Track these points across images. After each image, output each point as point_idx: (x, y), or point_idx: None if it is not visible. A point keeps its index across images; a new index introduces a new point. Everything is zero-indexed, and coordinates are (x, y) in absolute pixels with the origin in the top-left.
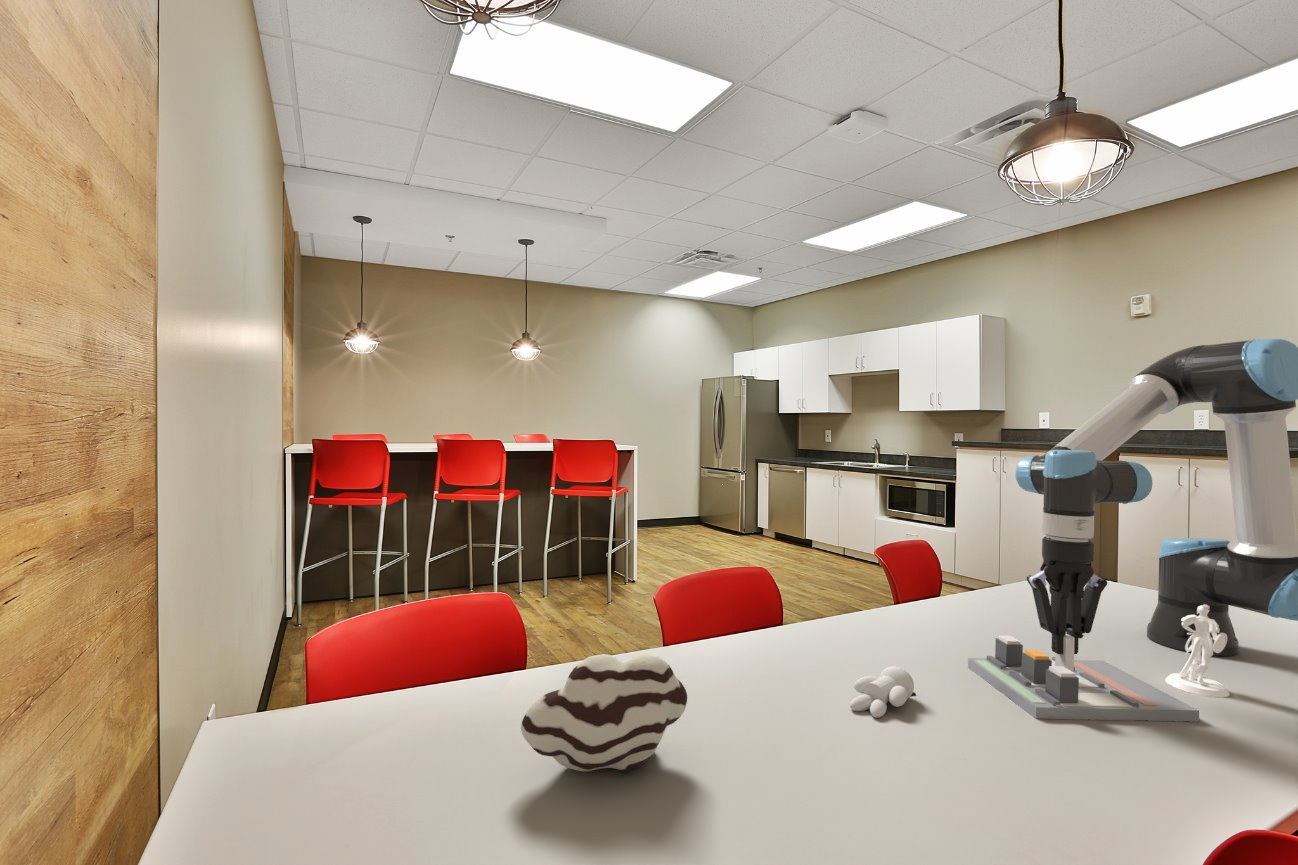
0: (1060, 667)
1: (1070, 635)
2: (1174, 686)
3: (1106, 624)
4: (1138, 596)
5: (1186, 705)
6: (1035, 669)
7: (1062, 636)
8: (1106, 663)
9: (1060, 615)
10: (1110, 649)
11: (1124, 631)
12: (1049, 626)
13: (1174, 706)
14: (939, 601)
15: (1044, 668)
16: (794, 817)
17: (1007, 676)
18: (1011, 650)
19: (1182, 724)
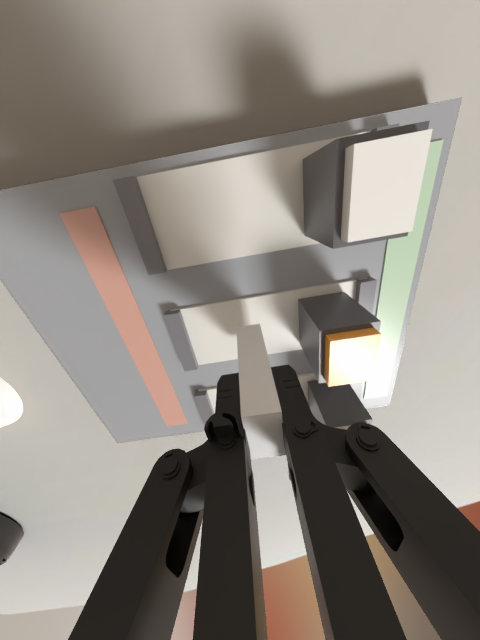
0: (371, 224)
1: (246, 435)
2: (10, 387)
3: (71, 550)
4: (15, 604)
5: None
6: (359, 307)
7: (296, 415)
8: (114, 433)
9: (366, 562)
10: (87, 492)
11: (52, 539)
12: (396, 455)
13: (11, 217)
14: (266, 563)
15: (333, 313)
16: None
17: None
18: (350, 408)
19: (24, 171)
